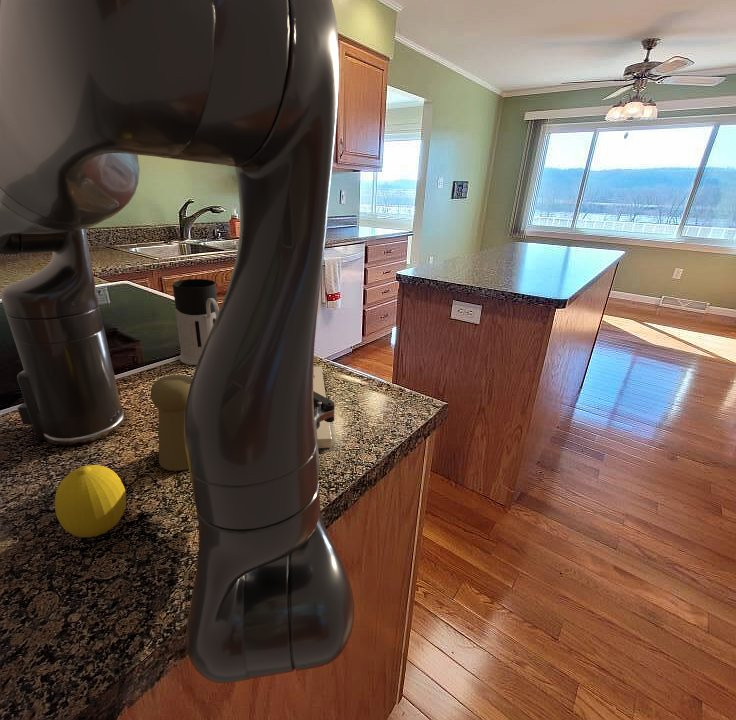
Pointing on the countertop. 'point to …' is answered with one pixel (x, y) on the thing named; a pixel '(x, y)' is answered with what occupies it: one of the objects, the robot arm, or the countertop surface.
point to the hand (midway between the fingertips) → (286, 381)
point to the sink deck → (324, 428)
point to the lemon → (90, 501)
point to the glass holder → (194, 315)
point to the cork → (171, 419)
